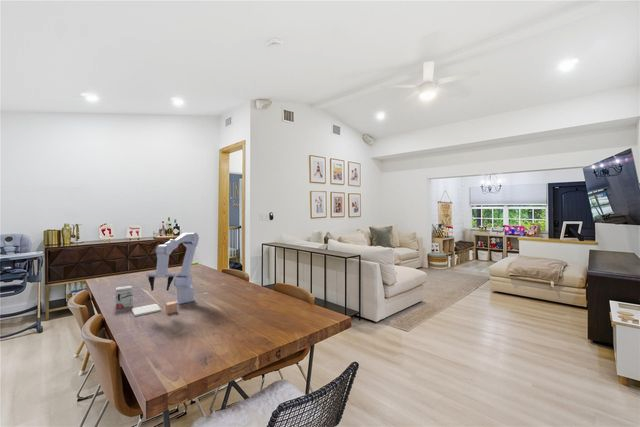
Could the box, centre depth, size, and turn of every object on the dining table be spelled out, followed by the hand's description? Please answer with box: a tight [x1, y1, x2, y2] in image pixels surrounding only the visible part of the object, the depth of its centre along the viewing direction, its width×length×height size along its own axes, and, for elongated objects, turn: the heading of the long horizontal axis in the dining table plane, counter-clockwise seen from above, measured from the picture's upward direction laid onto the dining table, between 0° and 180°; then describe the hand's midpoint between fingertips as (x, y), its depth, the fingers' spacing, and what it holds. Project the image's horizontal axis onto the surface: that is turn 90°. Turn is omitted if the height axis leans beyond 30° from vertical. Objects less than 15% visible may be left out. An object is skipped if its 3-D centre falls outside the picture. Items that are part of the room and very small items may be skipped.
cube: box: [165, 300, 178, 314], centre depth 169 cm, size 5×5×5 cm
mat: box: [131, 303, 162, 317], centre depth 171 cm, size 13×13×1 cm
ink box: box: [115, 285, 134, 310], centre depth 179 cm, size 8×5×12 cm, turn 123°
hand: (160, 290), depth 166 cm, fingers open, 7 cm apart
